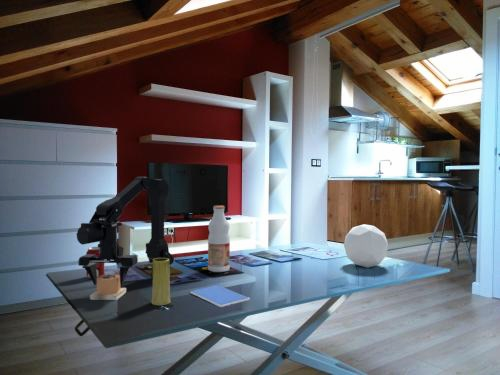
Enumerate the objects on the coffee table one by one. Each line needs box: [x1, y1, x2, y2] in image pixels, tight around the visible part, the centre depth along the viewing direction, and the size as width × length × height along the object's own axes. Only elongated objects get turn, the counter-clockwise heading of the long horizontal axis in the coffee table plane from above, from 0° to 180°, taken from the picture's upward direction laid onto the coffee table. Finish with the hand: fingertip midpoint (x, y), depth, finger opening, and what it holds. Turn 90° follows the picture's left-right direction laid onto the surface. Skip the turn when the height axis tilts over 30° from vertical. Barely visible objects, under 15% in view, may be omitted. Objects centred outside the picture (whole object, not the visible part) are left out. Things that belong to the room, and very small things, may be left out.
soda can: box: [85, 246, 105, 280], centre depth 161 cm, size 7×7×12 cm
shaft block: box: [89, 276, 127, 301], centre depth 137 cm, size 9×9×6 cm
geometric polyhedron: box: [343, 223, 389, 269], centre depth 183 cm, size 19×20×20 cm
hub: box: [96, 273, 121, 295], centre depth 137 cm, size 7×7×5 cm
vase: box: [151, 258, 172, 307], centre depth 130 cm, size 6×6×14 cm
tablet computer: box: [189, 285, 251, 308], centre depth 137 cm, size 19×13×1 cm, turn 39°
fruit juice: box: [207, 205, 231, 273], centre depth 174 cm, size 9×9×28 cm
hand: (108, 285), depth 137 cm, fingers open, 9 cm apart
